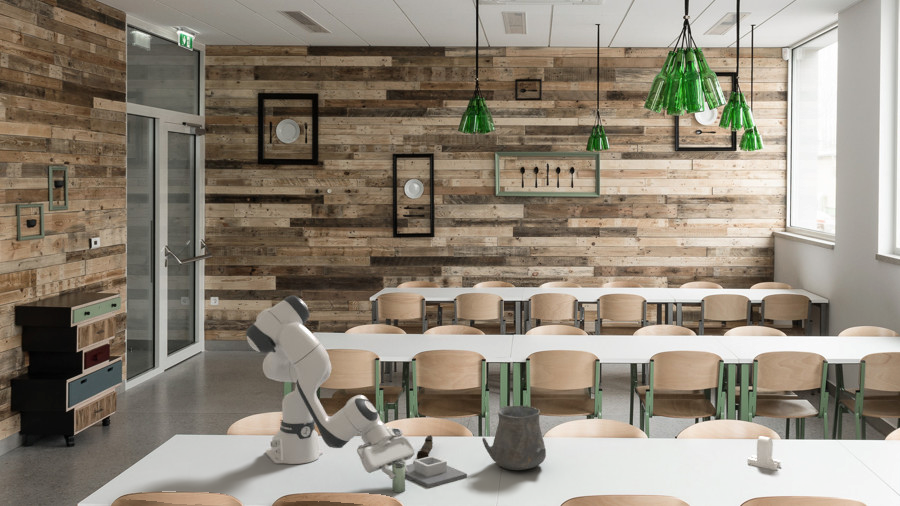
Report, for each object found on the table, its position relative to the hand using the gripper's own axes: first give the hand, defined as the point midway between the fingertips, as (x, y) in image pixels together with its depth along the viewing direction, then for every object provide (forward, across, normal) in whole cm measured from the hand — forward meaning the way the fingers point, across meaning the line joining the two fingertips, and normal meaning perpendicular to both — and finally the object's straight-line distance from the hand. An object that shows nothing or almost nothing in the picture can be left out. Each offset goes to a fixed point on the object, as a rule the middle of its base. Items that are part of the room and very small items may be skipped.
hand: (399, 475), depth 262 cm
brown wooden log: (-11, +34, +19) cm, 40 cm away
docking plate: (+1, +18, +6) cm, 19 cm away
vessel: (+14, +45, -6) cm, 47 cm away
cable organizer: (+60, +100, -52) cm, 128 cm away
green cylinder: (+3, 0, +4) cm, 5 cm away
